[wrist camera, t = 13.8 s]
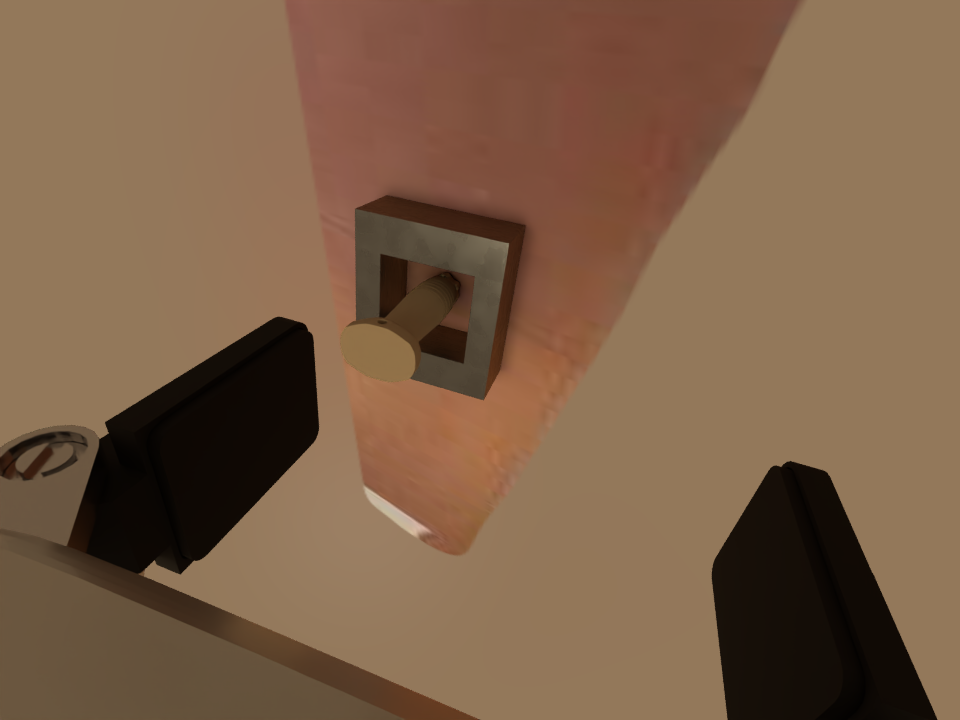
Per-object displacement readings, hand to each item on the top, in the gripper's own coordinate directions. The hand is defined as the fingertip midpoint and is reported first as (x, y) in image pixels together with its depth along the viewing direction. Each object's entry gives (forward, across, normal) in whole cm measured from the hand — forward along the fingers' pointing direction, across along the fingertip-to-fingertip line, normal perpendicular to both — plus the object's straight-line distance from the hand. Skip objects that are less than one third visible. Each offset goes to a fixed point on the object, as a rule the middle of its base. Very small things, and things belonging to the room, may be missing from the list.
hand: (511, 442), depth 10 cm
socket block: (+36, +14, +14) cm, 41 cm away
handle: (+36, +14, +14) cm, 41 cm away
